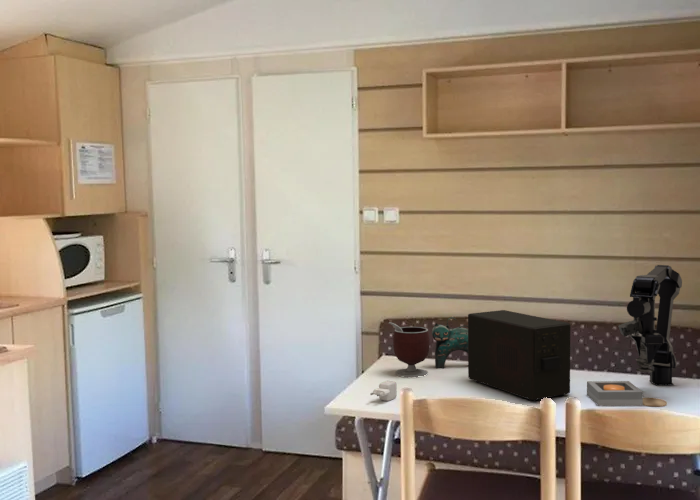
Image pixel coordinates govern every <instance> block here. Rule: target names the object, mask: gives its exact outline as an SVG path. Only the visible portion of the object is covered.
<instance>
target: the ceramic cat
mask: <svg viewBox="0 0 700 500" xmlns="http://www.w3.org/2000/svg"><path fill="white" fill-rule="evenodd" d="M450 319H453V320H454V321H457V318H455V317H449V318H448V319H447V321H446V325H443V324H438V323H437V322H436V323H435V324H434V327H433V328H432V330H431V336H432V339H433V340H435V341H436V343H435V351H434V352H435V353H434V357H435V358H434V363H435V368H436V367H437V368H443V369H444V368H446V367H445V366H446V365H445V364H446V360H447V358H448V356H449V355H450V354H451V353H453V352H455V351H462V352H466V353H467V354H468V325H461V326H458V327H455V328H452V327H450V325H449V324H448V323H449V320H450ZM465 327H466V328H465ZM437 368H436V369H437Z"/></svg>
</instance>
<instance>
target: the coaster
mask: <svg viewBox="0 0 700 500" xmlns="http://www.w3.org/2000/svg"><path fill="white" fill-rule="evenodd" d="M667 405H668V402H667V400H665V399H662V398H657V397H643V406H645V407H651V408H661V407H665V406H667Z"/></svg>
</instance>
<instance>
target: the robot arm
mask: <svg viewBox="0 0 700 500" xmlns="http://www.w3.org/2000/svg"><path fill="white" fill-rule="evenodd" d="M682 285H683V279H682V277H681V275H680V273H679V272H677V271H676V270H674V269H673V268H672V266H671V265H667V264H657V265H655V266H654V268H653V269H651V270H650V271H649V272H648V273H647V274H641V275H637V276H635V278H634V279H633V281H632V285H631V290H630V293H629V297H630V298H632V300H631V301H629V302H628V304H627V305H626V311H627V314H628V315H629V316H630V317H632V318H633V320H631V321H627V322H624V323H621V324H619V325H618V329H619V332H620V334H621V335H622V336H624V337H630V338H631V339H632V340H633V341H634V343H635V344H634V345H635V347H636V350H637V354H638V355H637V356H638V358H639V357H640V349H639V348H641V343H642V344H643V345H644V346H645V348H646V356H647V362H648V363H651V362H652V360H654V362H653V365H652V366H651V367H650V368H651V369H652V370H653V372H649V382H650V383H652V384H653V386H654V385H655V386H674V385H675V384H674V383H673V369H676V368H677V359H676V356H675V353H674V347H673V345H672V343H671V341H670V333H671V326H672V316H673V307H674V300H676V298H677V297H678V296H679V294H680V290H681V289H682ZM657 296H658V297H659V300H658V301H659V302H658V311H657V317H656V298H657ZM655 324H656V325H655ZM655 326H656V327H655ZM641 339H642V342H641Z"/></svg>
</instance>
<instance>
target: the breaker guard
mask: <svg viewBox="0 0 700 500" xmlns="http://www.w3.org/2000/svg"><path fill="white" fill-rule="evenodd" d="M610 384H612V385H620V386H623V387H625V390H603V388H604V385H610ZM586 395H587V396H588V398H590V399H591V400H592V401H593V402H594V403H595V404H596V405H597V406H598V407H604V406H606V407H607V406H609V407H610V406H611V407H614V406H615V407H621V406H622V407H635V406H637V407H639V406H641V407H642V406H644V405H643V398H644V392H643V391H642V390H641V389H640V388H638V387H637V386H636V385H635V384H633V383H632V382H631V381H630V380H619V381H618V380H606V381H605V380H600V381H599V380H598V381H597V380H589V381H587V380H586Z"/></svg>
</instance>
